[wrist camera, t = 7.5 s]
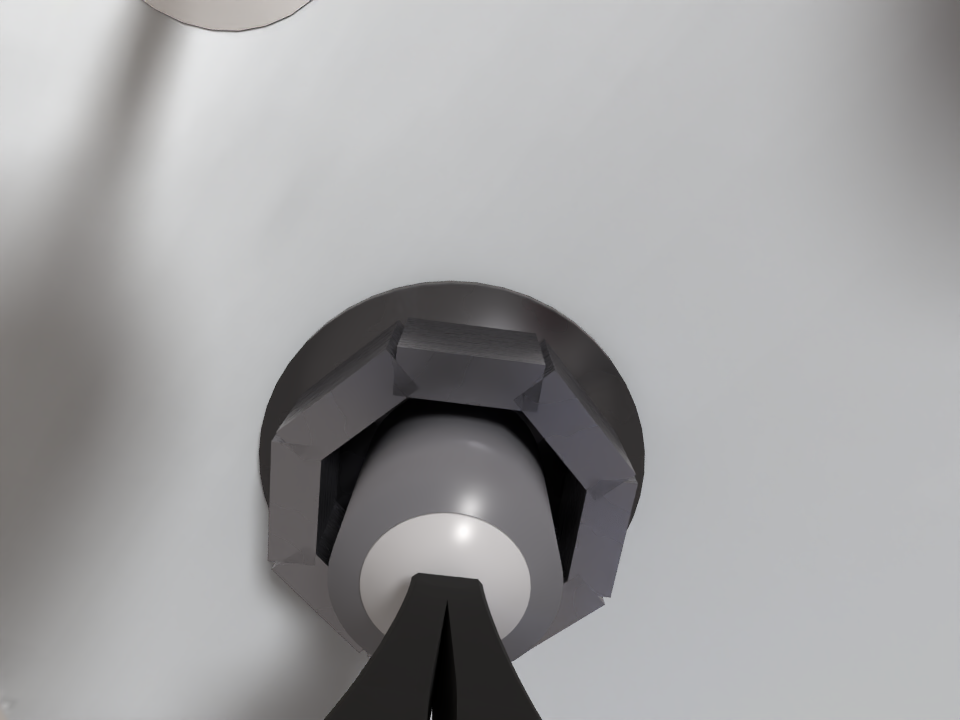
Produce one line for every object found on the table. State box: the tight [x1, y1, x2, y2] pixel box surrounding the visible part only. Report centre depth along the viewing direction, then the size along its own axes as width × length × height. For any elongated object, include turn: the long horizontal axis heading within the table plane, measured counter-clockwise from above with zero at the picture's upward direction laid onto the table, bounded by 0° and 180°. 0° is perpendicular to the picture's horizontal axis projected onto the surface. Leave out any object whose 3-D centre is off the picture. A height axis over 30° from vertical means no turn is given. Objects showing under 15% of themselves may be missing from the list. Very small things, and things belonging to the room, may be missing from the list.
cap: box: [327, 398, 563, 662], centre depth 16 cm, size 5×5×5 cm
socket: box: [259, 281, 645, 657], centre depth 17 cm, size 11×11×3 cm
